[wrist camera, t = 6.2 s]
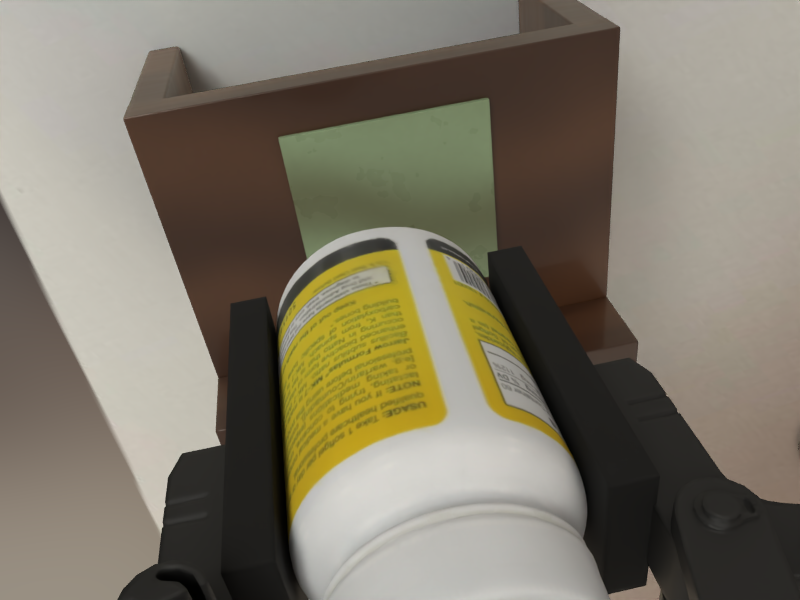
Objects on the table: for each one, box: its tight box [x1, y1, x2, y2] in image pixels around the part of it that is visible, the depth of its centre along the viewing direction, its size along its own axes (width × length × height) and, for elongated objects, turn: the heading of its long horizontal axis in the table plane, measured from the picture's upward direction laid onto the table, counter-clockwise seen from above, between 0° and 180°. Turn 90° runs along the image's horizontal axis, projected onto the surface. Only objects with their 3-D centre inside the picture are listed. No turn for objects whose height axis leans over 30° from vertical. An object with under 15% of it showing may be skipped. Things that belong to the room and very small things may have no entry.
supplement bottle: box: [276, 227, 610, 600], centre depth 13 cm, size 5×5×8 cm
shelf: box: [123, 0, 638, 445], centre depth 28 cm, size 12×16×10 cm
